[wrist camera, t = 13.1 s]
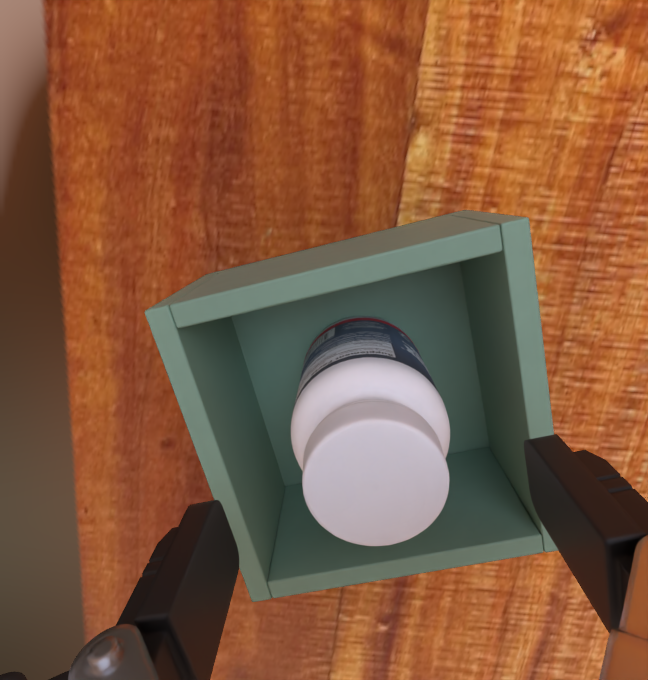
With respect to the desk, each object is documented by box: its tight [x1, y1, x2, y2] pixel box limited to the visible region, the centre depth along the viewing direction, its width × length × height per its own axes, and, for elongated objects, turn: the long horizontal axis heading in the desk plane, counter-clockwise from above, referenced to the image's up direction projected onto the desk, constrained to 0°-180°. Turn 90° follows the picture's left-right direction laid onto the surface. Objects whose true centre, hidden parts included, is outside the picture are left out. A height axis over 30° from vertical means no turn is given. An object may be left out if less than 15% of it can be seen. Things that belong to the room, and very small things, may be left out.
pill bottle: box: [291, 316, 450, 546], centre depth 17 cm, size 5×5×9 cm
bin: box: [145, 210, 558, 602], centre depth 18 cm, size 12×12×7 cm
